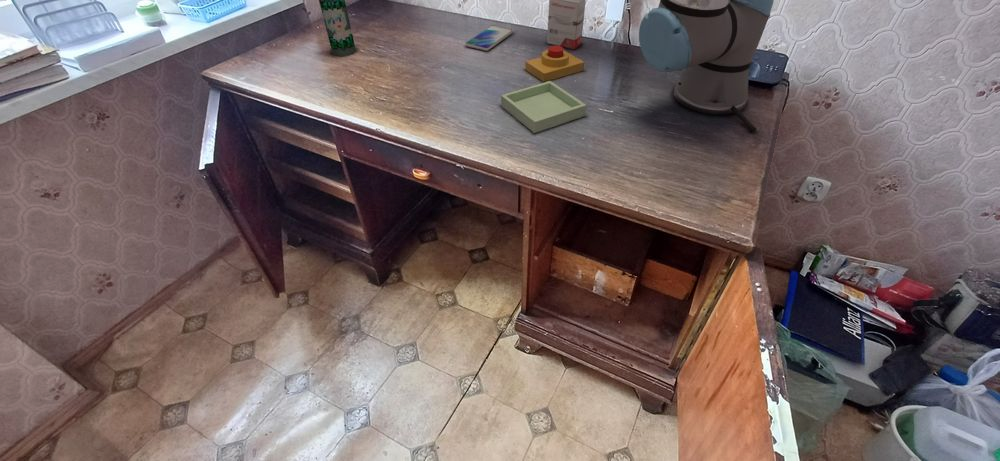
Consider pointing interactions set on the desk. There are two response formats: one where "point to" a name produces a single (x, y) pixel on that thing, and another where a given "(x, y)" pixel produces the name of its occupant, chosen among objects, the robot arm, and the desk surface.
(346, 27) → the can
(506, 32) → the smartphone
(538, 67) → the power switch
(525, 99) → the tray
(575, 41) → the ink box
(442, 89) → the desk surface
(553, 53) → the power button
